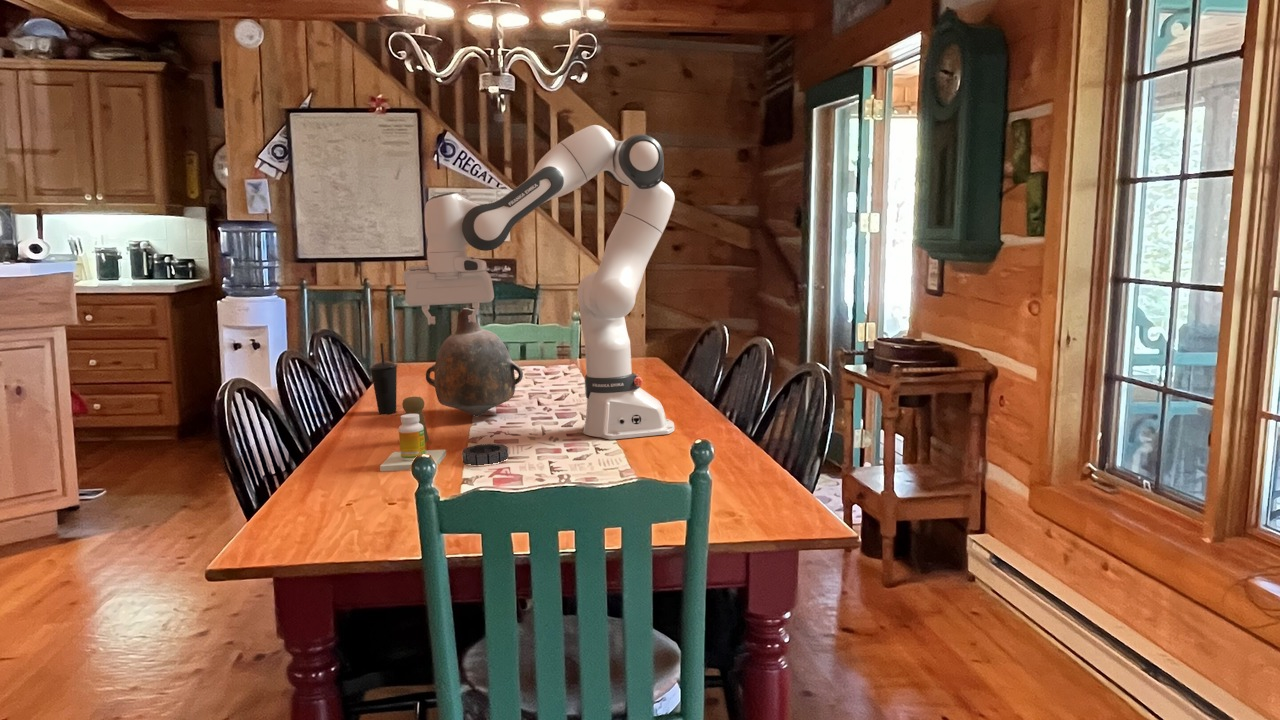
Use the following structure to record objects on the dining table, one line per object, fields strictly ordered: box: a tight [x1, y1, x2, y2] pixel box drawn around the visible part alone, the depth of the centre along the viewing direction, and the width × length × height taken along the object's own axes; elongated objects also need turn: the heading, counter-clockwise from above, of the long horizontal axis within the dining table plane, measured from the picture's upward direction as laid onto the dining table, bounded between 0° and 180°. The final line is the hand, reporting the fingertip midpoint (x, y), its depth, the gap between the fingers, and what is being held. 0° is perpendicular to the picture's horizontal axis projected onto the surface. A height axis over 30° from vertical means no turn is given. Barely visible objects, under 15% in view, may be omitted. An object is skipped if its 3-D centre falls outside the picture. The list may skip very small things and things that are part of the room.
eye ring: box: [461, 443, 509, 465], centre depth 203 cm, size 10×10×2 cm
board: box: [379, 449, 447, 472], centre depth 203 cm, size 12×12×1 cm
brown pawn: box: [402, 396, 430, 443], centre depth 223 cm, size 6×6×11 cm
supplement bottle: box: [398, 414, 426, 461], centre depth 202 cm, size 5×5×10 cm
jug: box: [425, 307, 524, 417], centre depth 248 cm, size 24×21×30 cm
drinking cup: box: [369, 342, 398, 415], centre depth 259 cm, size 8×8×20 cm
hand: (452, 323), depth 214 cm, fingers open, 8 cm apart
